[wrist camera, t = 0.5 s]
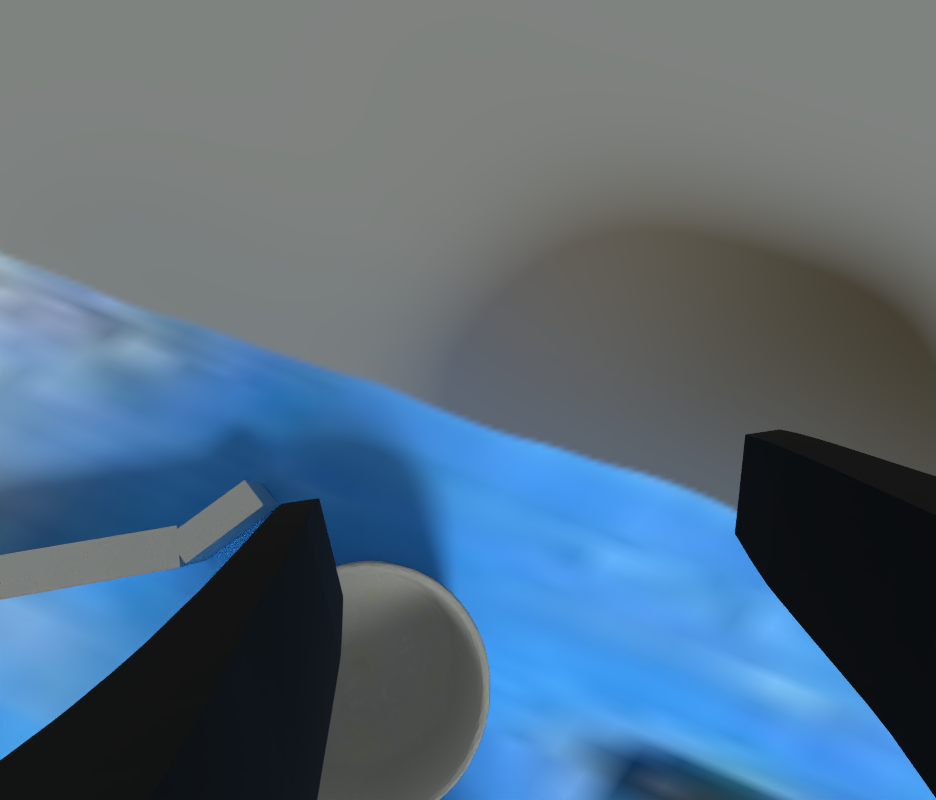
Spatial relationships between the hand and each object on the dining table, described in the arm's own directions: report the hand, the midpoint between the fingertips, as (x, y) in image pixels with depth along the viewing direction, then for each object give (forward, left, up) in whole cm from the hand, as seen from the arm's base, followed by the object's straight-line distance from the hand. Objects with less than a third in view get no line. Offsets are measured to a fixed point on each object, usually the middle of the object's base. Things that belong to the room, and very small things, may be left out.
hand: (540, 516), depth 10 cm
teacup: (-8, +5, -25) cm, 26 cm away
